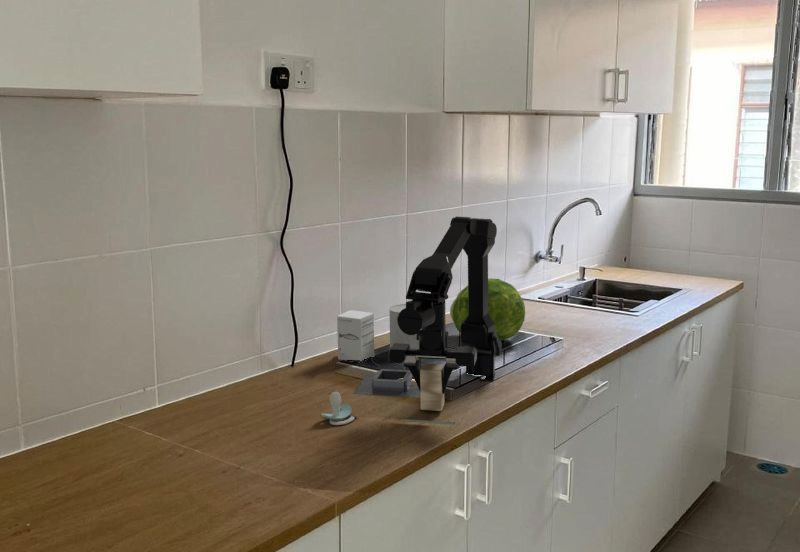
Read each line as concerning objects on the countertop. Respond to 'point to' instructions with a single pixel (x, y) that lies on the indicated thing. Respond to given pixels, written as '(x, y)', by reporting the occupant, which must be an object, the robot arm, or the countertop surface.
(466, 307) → the lettuce
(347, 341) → the supplement box
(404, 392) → the pocket fixture
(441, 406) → the maple block
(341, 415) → the pacifier
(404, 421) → the pad
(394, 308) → the white stone cylinder
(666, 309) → the countertop surface
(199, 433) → the countertop surface
